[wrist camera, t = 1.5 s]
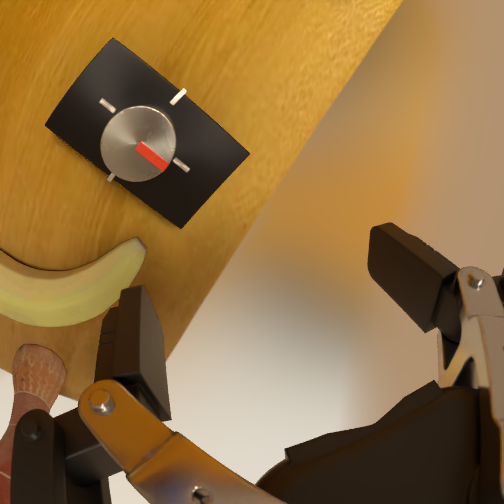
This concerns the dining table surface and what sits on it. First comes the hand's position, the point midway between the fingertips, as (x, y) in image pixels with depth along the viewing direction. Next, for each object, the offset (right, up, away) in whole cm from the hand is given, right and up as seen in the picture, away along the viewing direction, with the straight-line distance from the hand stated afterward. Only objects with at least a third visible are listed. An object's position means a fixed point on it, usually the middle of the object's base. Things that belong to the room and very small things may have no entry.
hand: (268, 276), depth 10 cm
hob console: (-9, +11, +12) cm, 18 cm away
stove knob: (-8, +9, +9) cm, 15 cm away
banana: (-21, +2, +13) cm, 25 cm away
